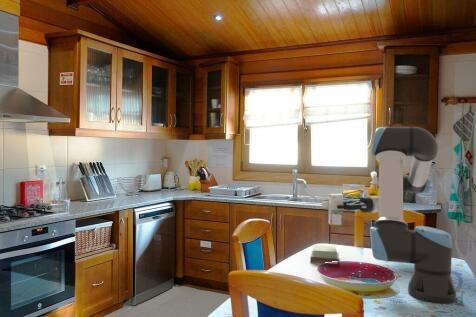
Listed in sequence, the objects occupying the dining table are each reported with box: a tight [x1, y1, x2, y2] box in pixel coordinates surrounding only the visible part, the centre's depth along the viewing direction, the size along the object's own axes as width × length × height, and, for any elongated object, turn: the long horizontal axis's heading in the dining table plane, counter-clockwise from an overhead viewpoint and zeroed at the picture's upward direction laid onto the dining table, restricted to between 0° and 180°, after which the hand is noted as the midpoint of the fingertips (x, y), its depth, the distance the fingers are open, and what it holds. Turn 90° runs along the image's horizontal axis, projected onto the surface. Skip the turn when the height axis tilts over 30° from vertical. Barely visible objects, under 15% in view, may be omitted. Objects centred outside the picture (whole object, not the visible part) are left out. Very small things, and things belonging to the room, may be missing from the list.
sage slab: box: [312, 244, 338, 259], centre depth 182 cm, size 10×10×3 cm
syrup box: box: [327, 192, 344, 226], centre depth 188 cm, size 6×6×14 cm
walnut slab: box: [310, 250, 340, 264], centre depth 183 cm, size 12×12×3 cm
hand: (326, 205), depth 186 cm, fingers closed on syrup box, 7 cm apart
